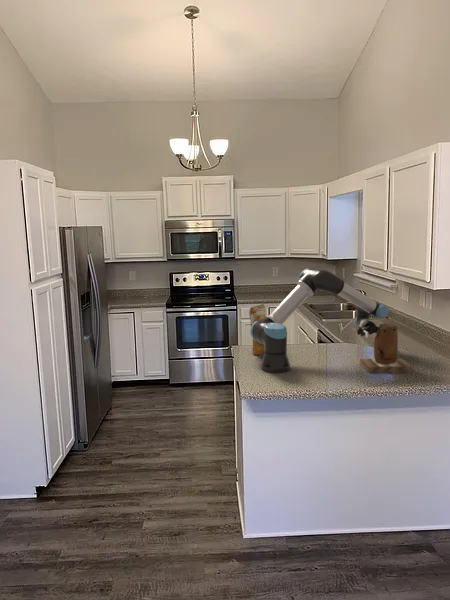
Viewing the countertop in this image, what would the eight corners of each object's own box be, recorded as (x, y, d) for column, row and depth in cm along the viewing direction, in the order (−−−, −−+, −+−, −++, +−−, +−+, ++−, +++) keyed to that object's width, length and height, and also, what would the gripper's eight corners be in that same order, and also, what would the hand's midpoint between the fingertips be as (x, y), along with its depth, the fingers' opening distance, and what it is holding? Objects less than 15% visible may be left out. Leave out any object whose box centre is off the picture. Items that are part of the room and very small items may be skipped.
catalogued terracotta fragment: (391, 359, 250) (393, 322, 247) (398, 363, 243) (400, 325, 240) (372, 360, 249) (373, 323, 246) (377, 364, 242) (379, 326, 239)
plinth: (368, 373, 239) (369, 366, 238) (359, 364, 254) (360, 358, 253) (412, 372, 239) (412, 365, 239) (400, 363, 254) (400, 357, 254)
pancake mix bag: (245, 354, 277) (245, 307, 273) (264, 347, 292) (264, 303, 287) (255, 356, 273) (254, 308, 269) (273, 349, 287) (273, 304, 283)
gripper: (389, 332, 275) (403, 341, 254) (346, 333, 274) (357, 342, 253) (389, 320, 273) (403, 327, 252) (346, 320, 273) (357, 328, 252)
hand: (380, 335), depth 253 cm, fingers open, 13 cm apart
